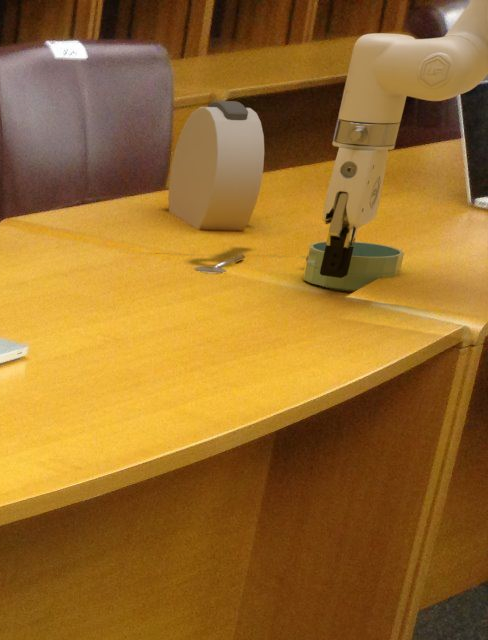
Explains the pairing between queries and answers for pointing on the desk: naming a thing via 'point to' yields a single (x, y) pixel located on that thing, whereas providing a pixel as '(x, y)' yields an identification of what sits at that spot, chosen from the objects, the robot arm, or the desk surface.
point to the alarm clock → (217, 167)
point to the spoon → (219, 265)
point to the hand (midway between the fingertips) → (333, 275)
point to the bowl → (354, 266)
